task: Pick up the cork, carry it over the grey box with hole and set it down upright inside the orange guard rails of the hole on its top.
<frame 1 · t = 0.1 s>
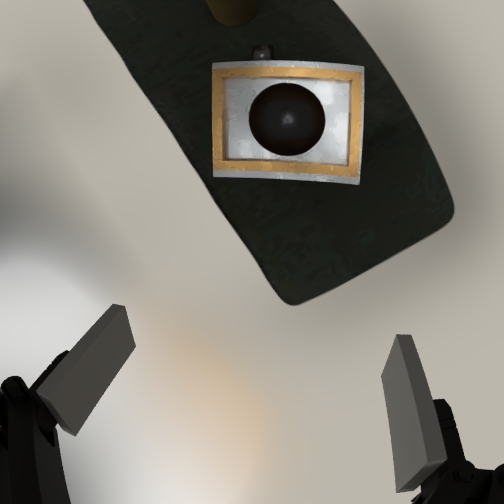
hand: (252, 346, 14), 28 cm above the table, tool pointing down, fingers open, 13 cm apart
grey box with hole: (290, 119, 35), on the table
cork: (235, 8, 29), on the table
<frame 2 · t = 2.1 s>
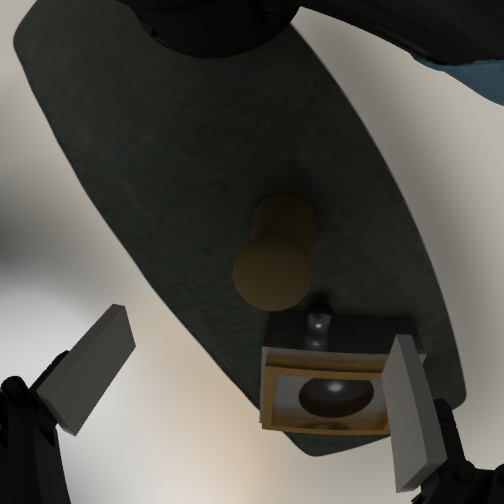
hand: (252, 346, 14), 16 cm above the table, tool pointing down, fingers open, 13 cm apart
grey box with hole: (335, 358, 34), on the table
cork: (284, 224, 28), on the table
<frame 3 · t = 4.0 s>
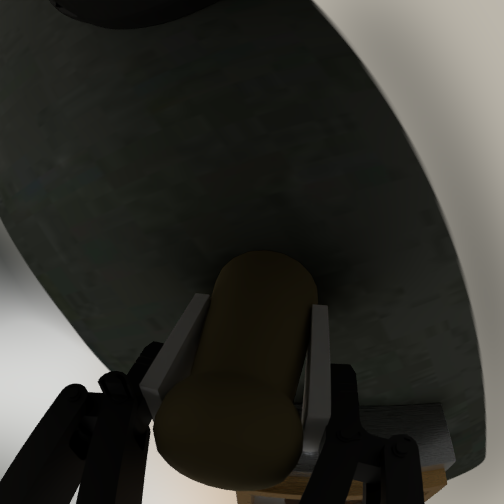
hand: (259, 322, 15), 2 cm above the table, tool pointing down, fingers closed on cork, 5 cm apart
grey box with hole: (335, 445, 23), on the table
cork: (266, 296, 18), on the table, touching gripper
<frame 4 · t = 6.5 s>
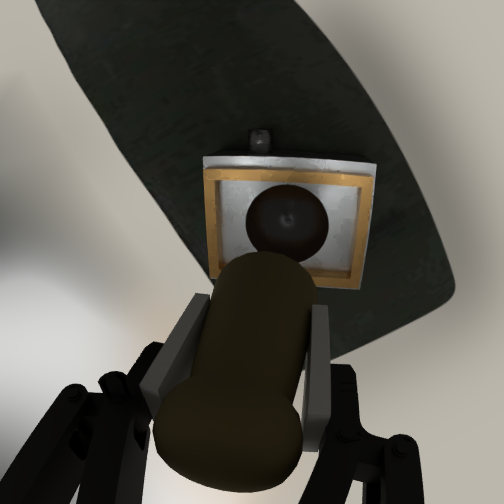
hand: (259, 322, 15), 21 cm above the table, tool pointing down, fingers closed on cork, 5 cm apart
grey box with hole: (290, 207, 34), on the table
cork: (265, 297, 18), point 19 cm above the table, touching gripper
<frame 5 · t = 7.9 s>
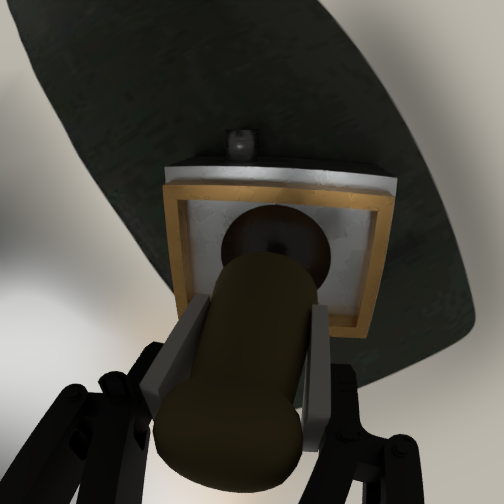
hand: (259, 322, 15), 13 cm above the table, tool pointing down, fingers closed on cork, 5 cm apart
grey box with hole: (282, 229, 27), on the table
cork: (265, 297, 18), point 11 cm above the table, touching gripper
when the fingers open (9 cm above the table, at t = 8.9 s): cork drops 1 cm, resting on grey box with hole.
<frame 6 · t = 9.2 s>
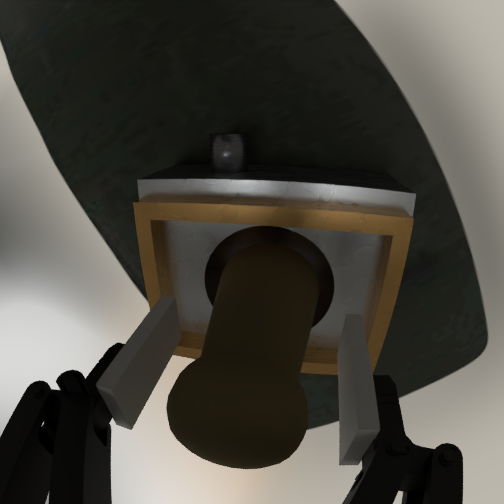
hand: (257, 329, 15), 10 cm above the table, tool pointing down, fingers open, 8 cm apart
grey box with hole: (277, 248, 24), on the table
cork: (269, 287, 19), point 6 cm above the table, touching grey box with hole
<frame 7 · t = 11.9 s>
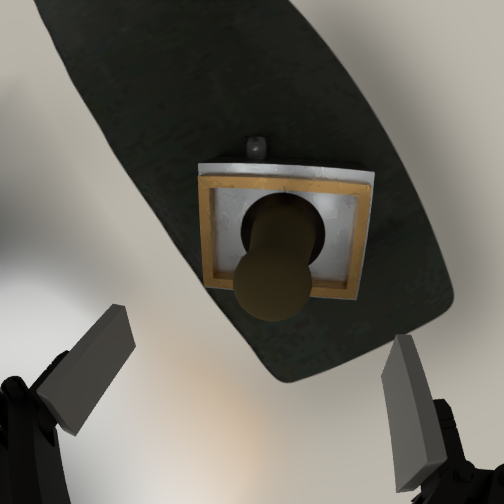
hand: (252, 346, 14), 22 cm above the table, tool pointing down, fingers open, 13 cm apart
grey box with hole: (287, 216, 34), on the table
cork: (283, 234, 28), point 6 cm above the table, touching grey box with hole
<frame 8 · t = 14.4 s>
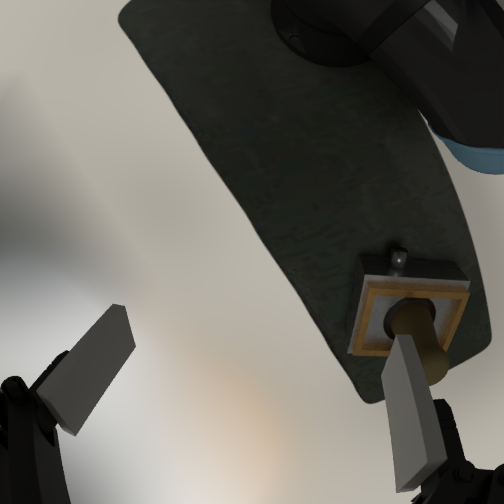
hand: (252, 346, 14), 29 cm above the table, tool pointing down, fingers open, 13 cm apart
grey box with hole: (400, 296, 42), on the table
cork: (410, 319, 37), point 6 cm above the table, touching grey box with hole
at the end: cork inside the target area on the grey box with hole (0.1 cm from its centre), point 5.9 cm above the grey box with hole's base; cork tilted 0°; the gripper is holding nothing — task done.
